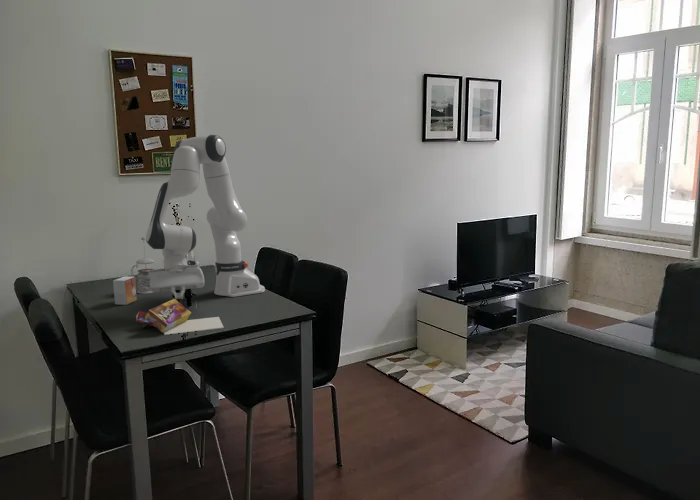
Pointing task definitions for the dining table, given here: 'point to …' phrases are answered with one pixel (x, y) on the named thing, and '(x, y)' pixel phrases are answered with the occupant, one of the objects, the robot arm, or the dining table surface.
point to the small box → (124, 290)
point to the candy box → (168, 315)
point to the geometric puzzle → (142, 319)
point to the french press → (143, 274)
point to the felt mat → (196, 326)
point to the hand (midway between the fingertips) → (179, 298)
